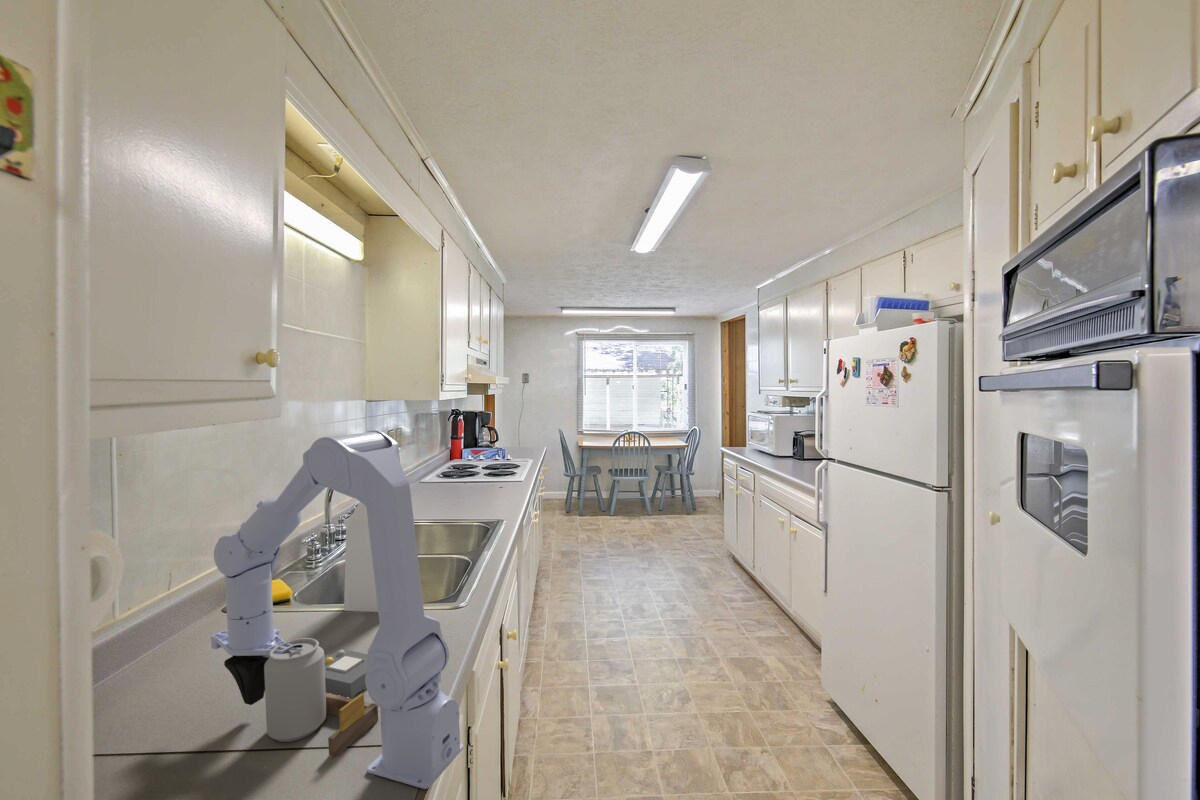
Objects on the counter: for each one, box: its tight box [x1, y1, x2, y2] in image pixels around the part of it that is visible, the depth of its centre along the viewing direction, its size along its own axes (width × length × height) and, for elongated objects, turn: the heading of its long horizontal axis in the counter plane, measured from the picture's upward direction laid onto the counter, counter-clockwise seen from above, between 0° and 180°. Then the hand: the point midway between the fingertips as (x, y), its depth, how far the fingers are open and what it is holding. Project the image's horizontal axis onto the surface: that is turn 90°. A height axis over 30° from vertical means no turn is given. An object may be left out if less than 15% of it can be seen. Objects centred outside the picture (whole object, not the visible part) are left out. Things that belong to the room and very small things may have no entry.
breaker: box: [328, 656, 362, 674], centre depth 90 cm, size 4×4×2 cm
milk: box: [343, 501, 416, 613], centre depth 122 cm, size 12×12×26 cm
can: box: [264, 637, 327, 743], centre depth 77 cm, size 8×8×12 cm
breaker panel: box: [324, 648, 369, 699], centre depth 90 cm, size 10×8×3 cm
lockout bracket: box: [326, 692, 379, 758], centre depth 77 cm, size 10×8×6 cm
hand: (254, 700), depth 81 cm, fingers closed
